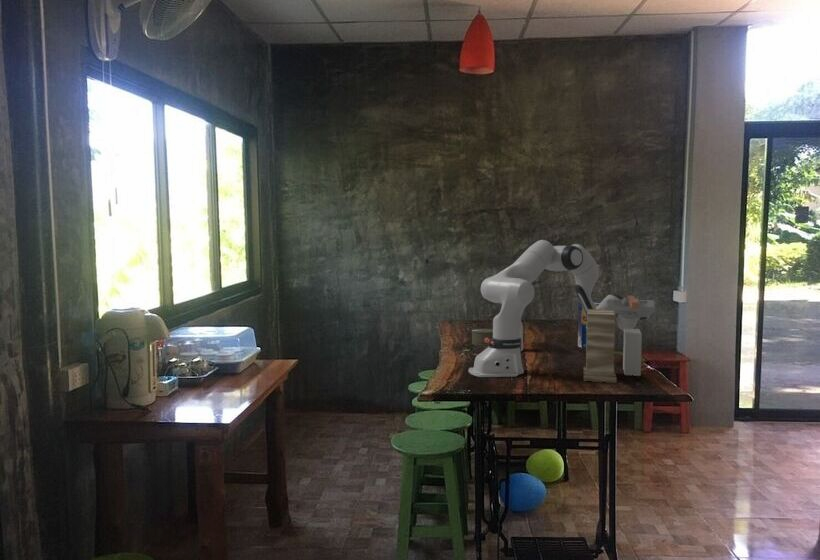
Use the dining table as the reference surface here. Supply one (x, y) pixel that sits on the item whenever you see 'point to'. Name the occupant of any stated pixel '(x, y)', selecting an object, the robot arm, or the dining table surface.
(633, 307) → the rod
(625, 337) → the seat block
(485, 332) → the can
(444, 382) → the dining table surface
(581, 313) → the beverage box
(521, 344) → the milk bottle
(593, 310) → the stand
